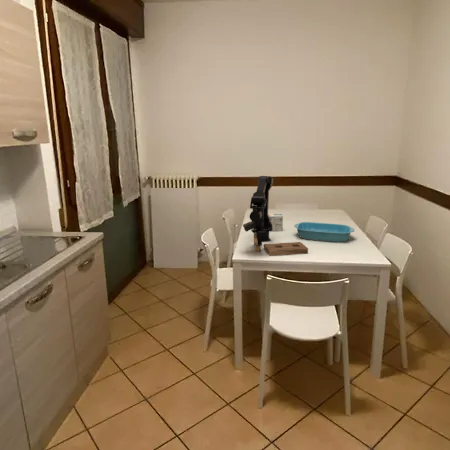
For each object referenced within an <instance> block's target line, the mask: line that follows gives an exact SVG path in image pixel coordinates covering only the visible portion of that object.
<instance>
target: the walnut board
mask: <svg viewBox="0 0 450 450" xmlns="http://www.w3.org/2000/svg"><path fill="white" fill-rule="evenodd" d="M263 250H264V251H265V253H266V254H267V255H268V256H269V257H272V256H273V257H274V256H275V257H276V256H278V257H279V256H291V255H293V256H294V255H305V254H306V255H307V254H309V252H308V251H309V248H308V247H307V246H306V245H305V244H303V242H301V241H294V242H278V243H264V244H263Z"/></svg>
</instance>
